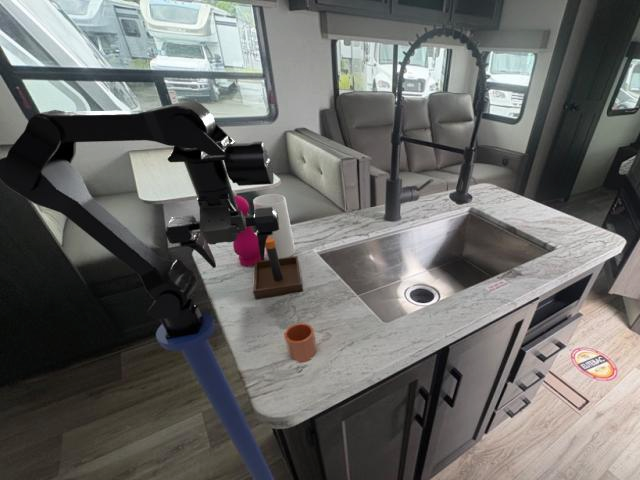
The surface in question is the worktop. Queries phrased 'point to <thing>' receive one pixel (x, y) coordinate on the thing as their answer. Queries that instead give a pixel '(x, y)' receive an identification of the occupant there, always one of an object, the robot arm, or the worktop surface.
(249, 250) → the pepper mill
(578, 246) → the worktop surface
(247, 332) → the worktop surface
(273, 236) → the cup
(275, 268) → the marker
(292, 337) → the pen cup
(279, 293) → the tray
